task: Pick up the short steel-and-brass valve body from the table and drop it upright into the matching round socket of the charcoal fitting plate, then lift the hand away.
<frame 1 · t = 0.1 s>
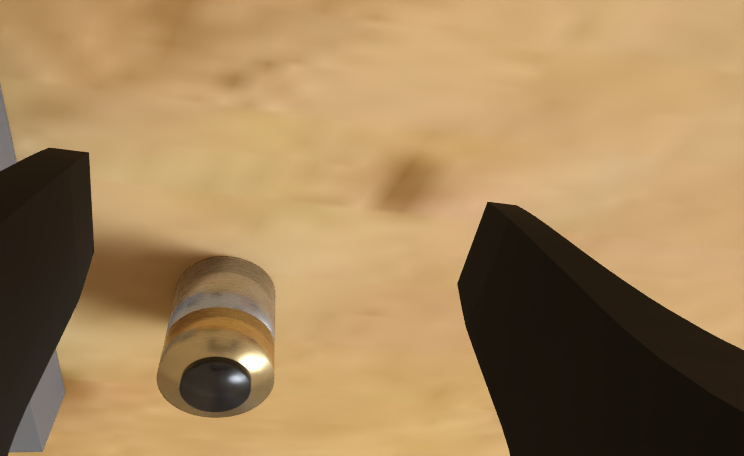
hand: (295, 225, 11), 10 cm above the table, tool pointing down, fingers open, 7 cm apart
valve: (226, 294, 24), on the table
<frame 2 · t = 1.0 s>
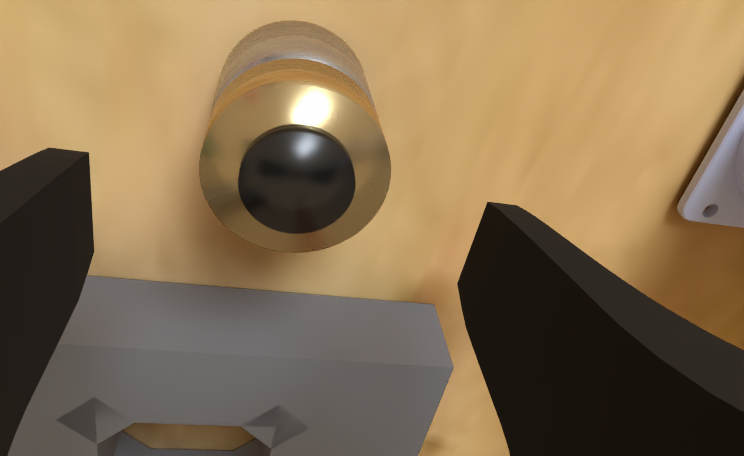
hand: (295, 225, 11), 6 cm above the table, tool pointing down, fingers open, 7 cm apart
socket plate: (195, 405, 23), on the table
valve: (294, 94, 16), on the table
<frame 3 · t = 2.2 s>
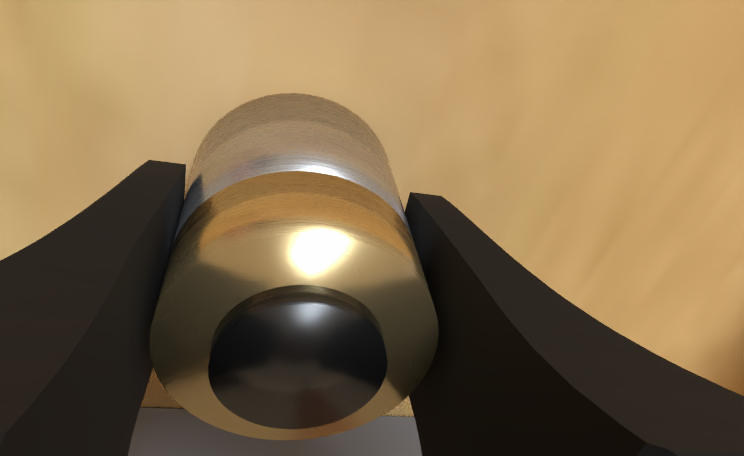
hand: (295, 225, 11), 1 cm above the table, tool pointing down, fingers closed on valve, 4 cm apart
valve: (293, 186, 12), on the table, touching gripper
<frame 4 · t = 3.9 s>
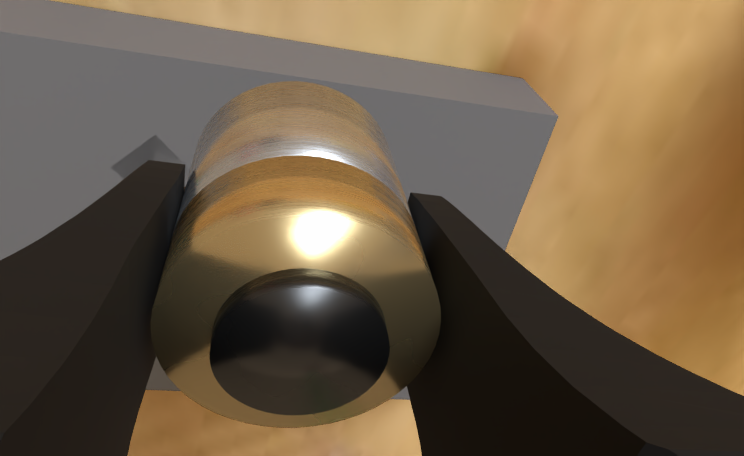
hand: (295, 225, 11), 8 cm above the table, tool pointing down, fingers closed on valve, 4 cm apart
socket plate: (253, 208, 20), on the table
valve: (295, 175, 12), point 7 cm above the table, touching gripper
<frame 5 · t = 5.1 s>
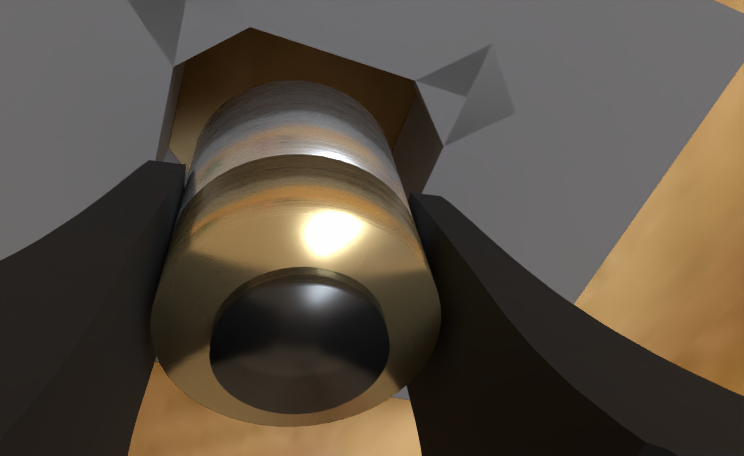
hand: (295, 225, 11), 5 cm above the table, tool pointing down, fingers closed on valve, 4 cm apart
socket plate: (292, 120, 15), on the table
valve: (295, 174, 12), point 3 cm above the table, touching gripper
when the fingers open (4 cm above the table, at t = 5.8 s): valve drops 2 cm, resting in socket plate.
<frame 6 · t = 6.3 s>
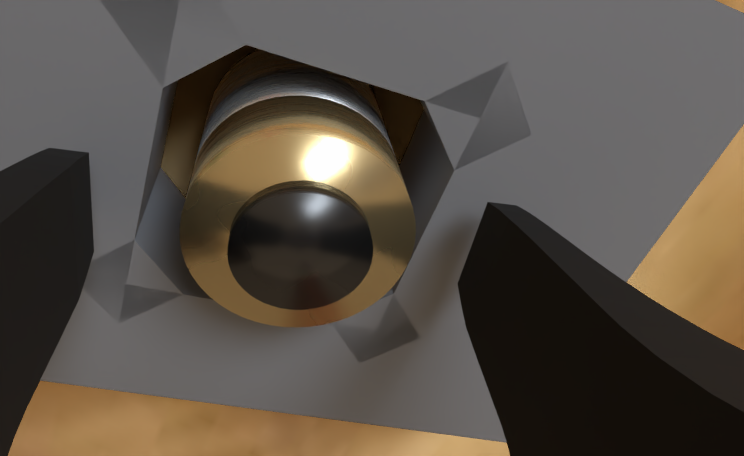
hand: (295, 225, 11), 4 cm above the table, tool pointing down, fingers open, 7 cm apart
socket plate: (292, 138, 14), on the table
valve: (296, 128, 14), resting in socket plate
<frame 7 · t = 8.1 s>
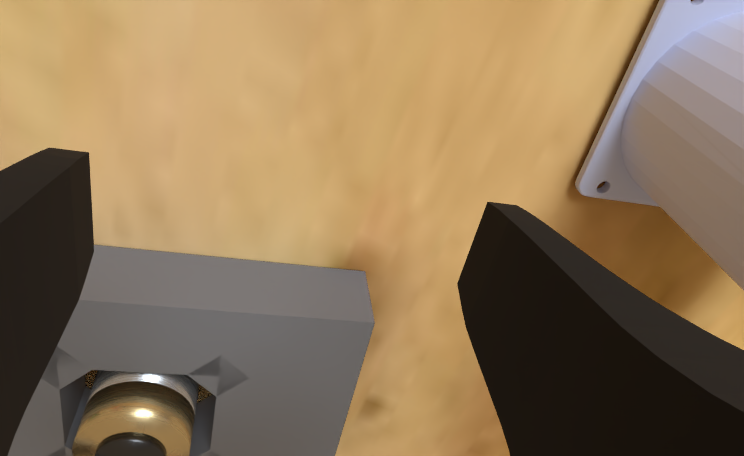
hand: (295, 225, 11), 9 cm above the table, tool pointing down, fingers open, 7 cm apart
socket plate: (153, 363, 25), on the table
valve: (154, 358, 25), resting in socket plate
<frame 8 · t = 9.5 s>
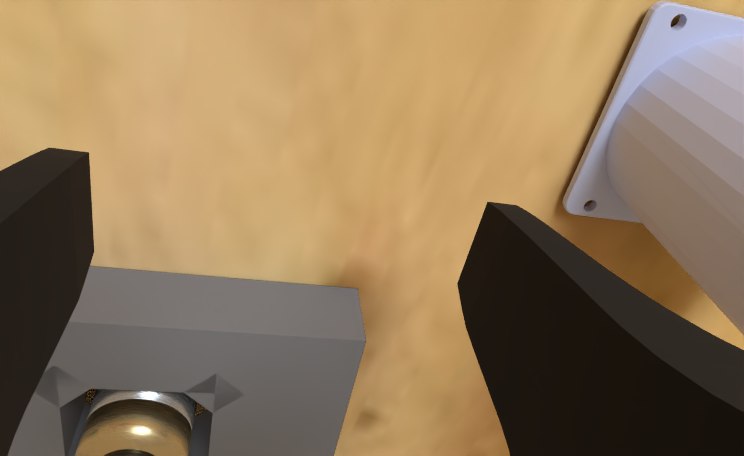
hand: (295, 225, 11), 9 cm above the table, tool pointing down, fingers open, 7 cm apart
socket plate: (152, 379, 26), on the table
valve: (152, 374, 26), resting in socket plate
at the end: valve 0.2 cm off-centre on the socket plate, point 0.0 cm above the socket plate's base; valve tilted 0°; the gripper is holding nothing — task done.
